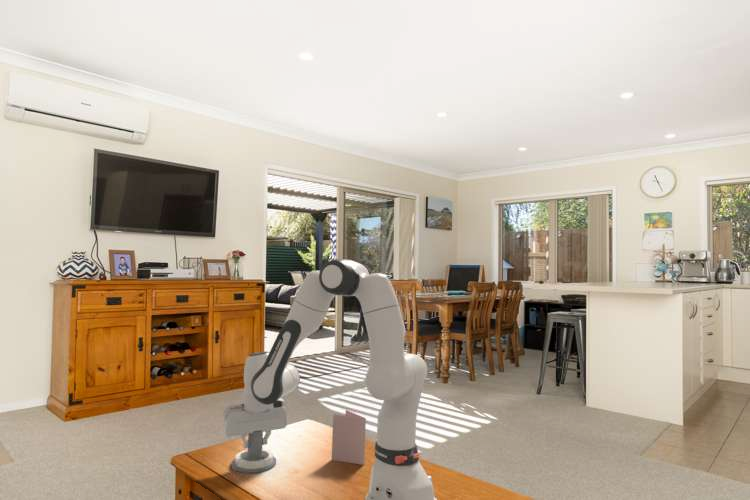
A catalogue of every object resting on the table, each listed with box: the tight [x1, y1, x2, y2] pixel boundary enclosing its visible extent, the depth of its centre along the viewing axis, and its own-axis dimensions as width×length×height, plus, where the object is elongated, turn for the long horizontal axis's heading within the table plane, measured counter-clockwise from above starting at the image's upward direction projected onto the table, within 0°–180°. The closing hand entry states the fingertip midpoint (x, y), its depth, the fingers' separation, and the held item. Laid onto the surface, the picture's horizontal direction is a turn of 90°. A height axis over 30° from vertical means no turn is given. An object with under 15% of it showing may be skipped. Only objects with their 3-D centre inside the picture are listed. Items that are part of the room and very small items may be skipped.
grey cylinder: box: [247, 430, 264, 461], centre depth 155 cm, size 4×4×10 cm
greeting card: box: [331, 409, 367, 466], centre depth 160 cm, size 11×7×15 cm, turn 38°
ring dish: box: [231, 448, 277, 474], centre depth 155 cm, size 14×14×3 cm
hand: (255, 445), depth 155 cm, fingers closed on grey cylinder, 5 cm apart
